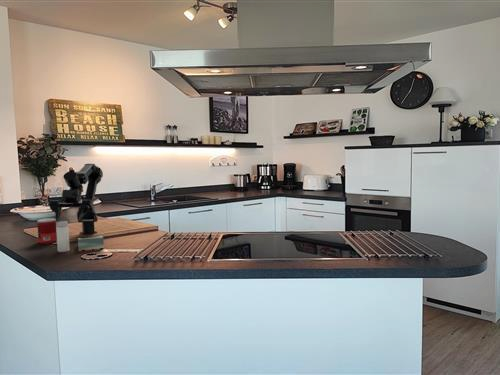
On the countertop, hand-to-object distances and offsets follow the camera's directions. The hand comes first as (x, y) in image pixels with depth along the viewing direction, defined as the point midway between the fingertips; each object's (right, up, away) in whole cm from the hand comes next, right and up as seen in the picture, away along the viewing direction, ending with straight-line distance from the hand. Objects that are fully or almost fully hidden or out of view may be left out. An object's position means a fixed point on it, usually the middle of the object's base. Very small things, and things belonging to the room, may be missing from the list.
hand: (67, 220), depth 171 cm
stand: (+11, -12, 0) cm, 16 cm away
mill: (+1, -13, -5) cm, 14 cm away
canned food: (-15, -12, +11) cm, 22 cm away
